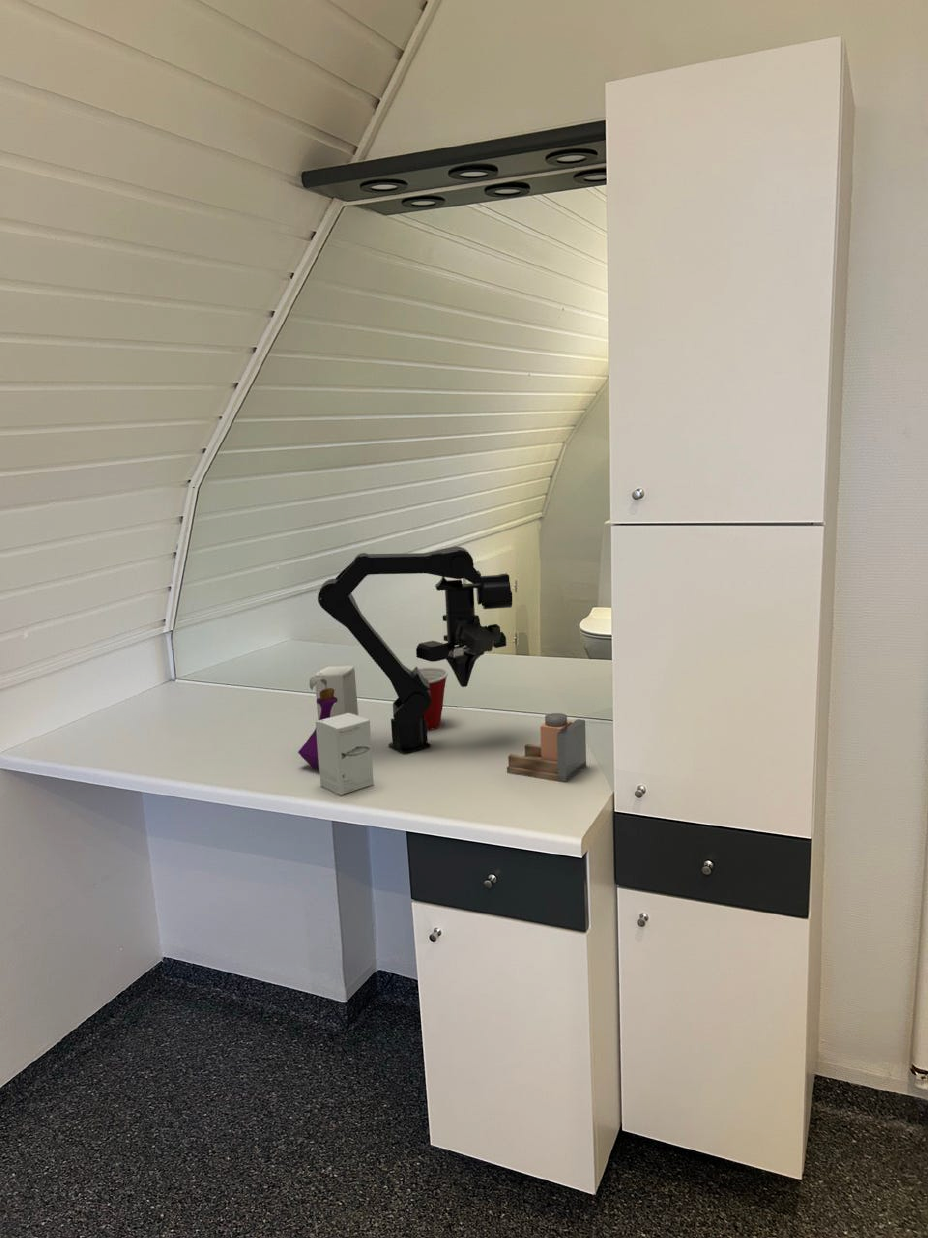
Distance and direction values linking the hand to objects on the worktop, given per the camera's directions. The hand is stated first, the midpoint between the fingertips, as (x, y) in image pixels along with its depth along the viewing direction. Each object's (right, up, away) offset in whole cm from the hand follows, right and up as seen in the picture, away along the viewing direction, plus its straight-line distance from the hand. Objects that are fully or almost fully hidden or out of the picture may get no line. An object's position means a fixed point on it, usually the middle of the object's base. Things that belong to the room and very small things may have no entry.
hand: (463, 686), depth 190 cm
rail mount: (+16, -15, -15) cm, 26 cm away
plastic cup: (-8, -10, +14) cm, 19 cm away
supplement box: (-21, -17, -18) cm, 33 cm away
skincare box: (-26, -12, +7) cm, 30 cm away
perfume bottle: (-27, -15, -7) cm, 32 cm away
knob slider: (+17, -13, -16) cm, 27 cm away
